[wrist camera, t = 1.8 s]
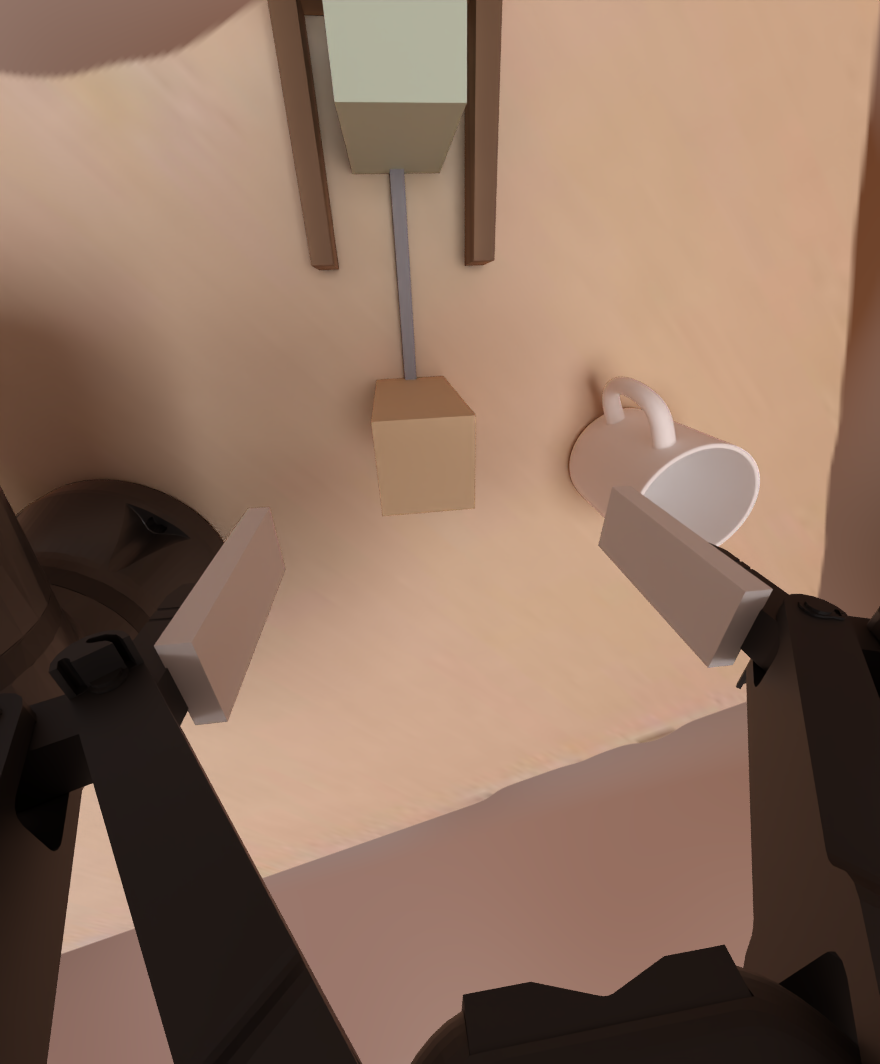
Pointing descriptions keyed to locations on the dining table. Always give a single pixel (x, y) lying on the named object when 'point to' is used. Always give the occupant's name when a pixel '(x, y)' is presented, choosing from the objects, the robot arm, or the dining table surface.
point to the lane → (480, 126)
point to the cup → (664, 464)
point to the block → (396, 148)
